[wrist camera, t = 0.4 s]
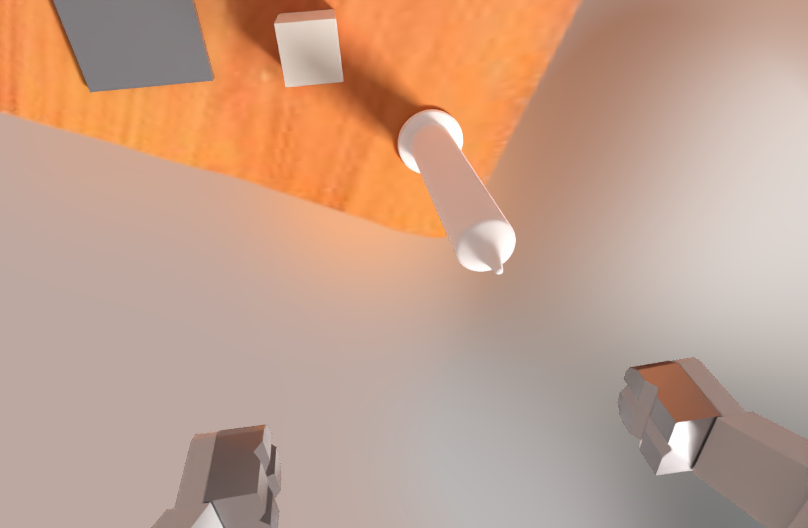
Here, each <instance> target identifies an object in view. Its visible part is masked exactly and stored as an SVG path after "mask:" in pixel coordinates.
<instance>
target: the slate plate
mask: <svg viewBox="0 0 808 528" xmlns="http://www.w3.org/2000/svg"><path fill="white" fill-rule="evenodd" d="M53 2H54V4H55V7H56V9H57V12H58V14H59V17H60V19H61V21H62V24H63V26H64V29H65V31H66V34H67V36H68V39H69V41H70V44H71V46H72V49H73V51H74V53H75V56H76V58H77V61H78V63H79V66H80V68H81V71H82V73H83V76H84V78H85V81H86V83H87V85H88V88H89V90H90V92H97V91H108V90H118V89H129V88H139V87H150V86H161V85H171V84H182V83H192V82H203V81H213V80H214V75H213V71H212V67H211V63H210V59H209V56H208V52H207V48H206V44H205V40H204V37H203V33H202V29H201V25H200V22H199V18H198V14H197V10H196V6H195V3H194V0H53Z"/></svg>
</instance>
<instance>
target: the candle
mask: <svg viewBox="0 0 808 528" xmlns="http://www.w3.org/2000/svg"><path fill="white" fill-rule="evenodd" d="M462 146H463V134H462V130H461V128H460V126H459V124H458V122H457V121H456V120H455V119H454V118H453V117H452V116H451V115H450V114H448V113H446V112H444V111H441V110H436V109H429V110H423V111H420V112H418V113H416V114H414V115H413V116H411V117H410V118H409V119H408V120H407V121H406V122H405V123H404V125H403V126H402V128H401V130H400V133H399V136H398V151H399V154H400V157H401V159H402V161H403V162H404V164H405V165H406V166H407V167H408V168H410V169H411V170H413V171H415V172H417V173H420V174H421V175H422V178H423V180H424V182H425V185H426V187H427V189H428V192H429V194H430V196H431V199H432V201H433V203H434V206H435V208H436V210H437V213H438V215H439V217H440V220H441V222H442V224H443V227H444V229H445V231H446V234H447V236H448V238H449V241H450V243H451V245H452V247H453V250H454V252H455V254H456V257H457V259H458V260H459V262H460V263H461V264H462V265H463V266H464V267H466V268H468V269H470V270H473V271H489V270H493V271H494V272H495V273H496V274H502V273H503V266H502V264H503V263H504V262H506V261H507V259H508V258H509V257H510V255H511V254H512V252H513V250H514V247H515V243H516V239H515V233H514V230H513V229H512V227H511V226H510V224H509V223H508V221H507V219H506V218H505V216H504V215H503V214H502V212H501V210H500V209H499V207H498V206H497V204H496V203H495V202H494V200H493V198H492V197H491V195H490V194H489V192H488V191H487V189H486V187H485V186H484V184H483V183H482V181H481V180H480V178H479V177H478V175H477V174H476V172H475V171H474V169H473V168H472V166H471V165H470V163H469V162H468V160H467V159H466V157H465V156H464V154H463V153H462V151H461V150H462Z"/></svg>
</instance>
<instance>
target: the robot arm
mask: <svg viewBox="0 0 808 528" xmlns="http://www.w3.org/2000/svg"><path fill="white" fill-rule="evenodd" d="M624 380H625V381H626V383H627V384H628V385H627V386H626V387H625V388H624V389H623V390H622V391H621V392H620V394H619V399H618V407H619V414H620V416H621V419H622V422H623V423H624V425H625V427H626V429H627V430H628V432H629V433H630V434H632V435H634V436H635V437H637V438H639V439H640V447H639V450H640V451H641V453H642V455H643V456H644V458H645V459H646V461H647V463H648V464H649V466H650V467H651V469H652V470H653V472H654V474H655V475H662V474H668V473H675V472H682V471H689V470H693V471H692V472H693V473H694V474H695V475H697V476H698V477H699V478H701V479H702V480H703V481H705V482H706V483H707V484H709V485H710V486H711V487H713V488H714V489H716V490H717V491H718V492H719V493H721V494H722V495H723V496H725V497H726V498H727V499H729V500H730V501H732V502H733V503H734V504H735V505H737V506H738V507H739V508H741V509H742V510H744V511H745V512H746V513H748V514H749V515H750V516H751V517H753V518H754V519H755V520H757V521H758V522H760V523H761V524H762V525H764V526H765V527H766V528H808V440H807V439H806V438H804V437H802V436H800V435H798V434H796V433H794V432H792V431H790V430H788V429H786V428H784V427H782V426H780V425H778V424H776V423H774V422H772V421H770V420H768V419H766V418H764V417H762V416H760V415H758V414H756V413H754V412H745V410H744V409H743V408H742V407H741V406H740V405H739V404H738V403H737V402H736V400H735V399H734V398H733V397H732V396H731V395H730V394H729V393H728V391H727V390H726V389H725V388H724V387H723V386H722V385H721V384H720V383H719V381H718V380H717V379H716V378H715V377H714V376H713V375H712V374H711V373H710V371H709V370H708V369H707V368H706V367H705V366H704V365H703V364H702V362H701V361H699V360H698V359H696V358H694V357H692V358H685V359H679V360H673V361H663V362H658V363H652V364H646V365H640V366H634V367H630V368H629V369H628V370H627V371H626V373H625V376H624ZM271 441H272V432H271V430H270V427H269V425H259V426H252V427H244V428H236V429H228V430H221V431H214V432H207V433H200V434H195V436H194V437H193V439H192V441H191V443H190V447H189V451H188V455H187V459H186V463H185V467H184V471H183V475H182V479H181V483H180V487H179V492H178V495H177V500H176V503H175V508H172V509H167V510H166V511H165V512H164V514H163V515H162V516H161V517H160V518H159V519H158V521H157V522H156V523H155V524H154V525H153V526H152V527H151V528H278V520H279V509H278V506H277V503H276V501H275V498H276V496H277V495H278V493H279V492H280V490H281V466H280V459H279V454H278V451H277V447H276V446H274V445H272V444H271Z"/></svg>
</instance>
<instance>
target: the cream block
mask: <svg viewBox="0 0 808 528" xmlns="http://www.w3.org/2000/svg"><path fill="white" fill-rule="evenodd" d="M274 27H275V32H276V37H277V43H278V48H279V54H280V59H281V64H282V70H283V75H284V80H285V86H286V87H295V86H305V85H316V84H326V83H336V82H344V80H343V72H342V63H341V55H340V47H339V39H338V31H337V22H336V16H335V12H334V9H328V10H316V11H304V12H292V13H280V14H278V16H277V18H276V20H275V23H274Z"/></svg>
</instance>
